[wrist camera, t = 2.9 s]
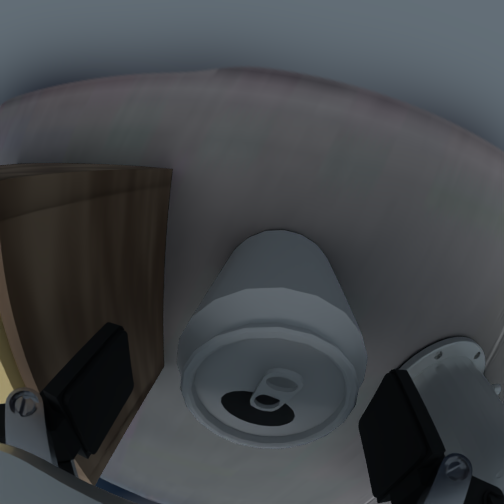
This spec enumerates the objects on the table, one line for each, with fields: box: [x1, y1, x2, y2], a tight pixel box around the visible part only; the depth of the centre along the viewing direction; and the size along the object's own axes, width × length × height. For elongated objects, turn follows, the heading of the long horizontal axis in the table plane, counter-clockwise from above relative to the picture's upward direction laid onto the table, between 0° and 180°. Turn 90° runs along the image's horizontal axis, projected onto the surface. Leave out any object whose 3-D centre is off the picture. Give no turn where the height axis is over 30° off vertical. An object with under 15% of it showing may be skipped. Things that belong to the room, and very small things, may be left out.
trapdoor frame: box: [0, 163, 173, 486], centre depth 15 cm, size 19×19×14 cm
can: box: [177, 230, 368, 449], centre depth 14 cm, size 8×8×12 cm
